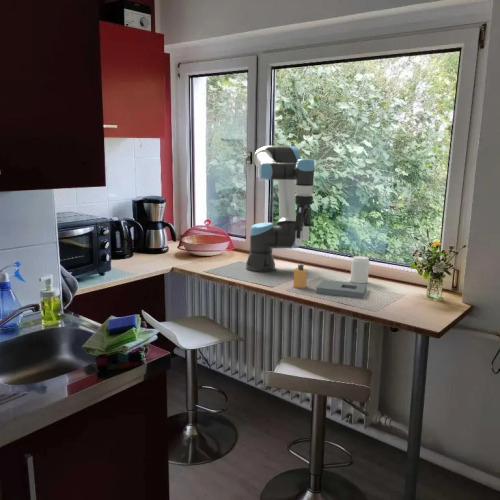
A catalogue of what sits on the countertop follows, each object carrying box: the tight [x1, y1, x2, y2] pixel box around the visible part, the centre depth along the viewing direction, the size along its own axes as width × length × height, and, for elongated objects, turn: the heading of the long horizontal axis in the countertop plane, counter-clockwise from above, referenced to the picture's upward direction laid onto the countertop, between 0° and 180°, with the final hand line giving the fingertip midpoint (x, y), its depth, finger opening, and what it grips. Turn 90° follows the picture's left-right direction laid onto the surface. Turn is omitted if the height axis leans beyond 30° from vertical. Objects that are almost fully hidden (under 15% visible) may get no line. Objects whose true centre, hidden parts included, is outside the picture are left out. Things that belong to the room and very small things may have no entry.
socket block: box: [315, 279, 368, 299], centre depth 220 cm, size 20×14×2 cm
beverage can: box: [350, 255, 370, 284], centre depth 235 cm, size 8×8×12 cm
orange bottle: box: [292, 264, 308, 289], centre depth 225 cm, size 5×4×10 cm
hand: (302, 243), depth 222 cm, fingers open, 13 cm apart
